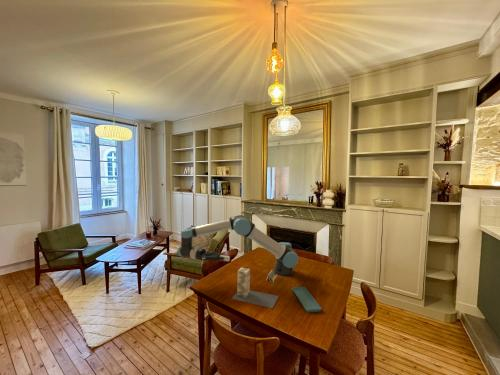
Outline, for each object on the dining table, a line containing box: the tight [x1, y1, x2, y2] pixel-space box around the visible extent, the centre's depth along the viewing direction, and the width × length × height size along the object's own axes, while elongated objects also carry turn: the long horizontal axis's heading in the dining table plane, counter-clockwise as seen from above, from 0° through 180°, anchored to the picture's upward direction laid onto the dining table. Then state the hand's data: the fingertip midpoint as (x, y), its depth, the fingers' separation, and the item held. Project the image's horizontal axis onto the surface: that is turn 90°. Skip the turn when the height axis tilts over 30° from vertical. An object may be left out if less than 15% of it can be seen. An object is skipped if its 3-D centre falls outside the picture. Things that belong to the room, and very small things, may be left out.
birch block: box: [236, 267, 251, 298], centre depth 141 cm, size 6×6×16 cm
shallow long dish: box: [291, 286, 323, 313], centre depth 137 cm, size 26×9×2 cm, turn 7°
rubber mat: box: [231, 289, 279, 310], centre depth 138 cm, size 26×14×1 cm, turn 68°
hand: (229, 259), depth 144 cm, fingers closed
